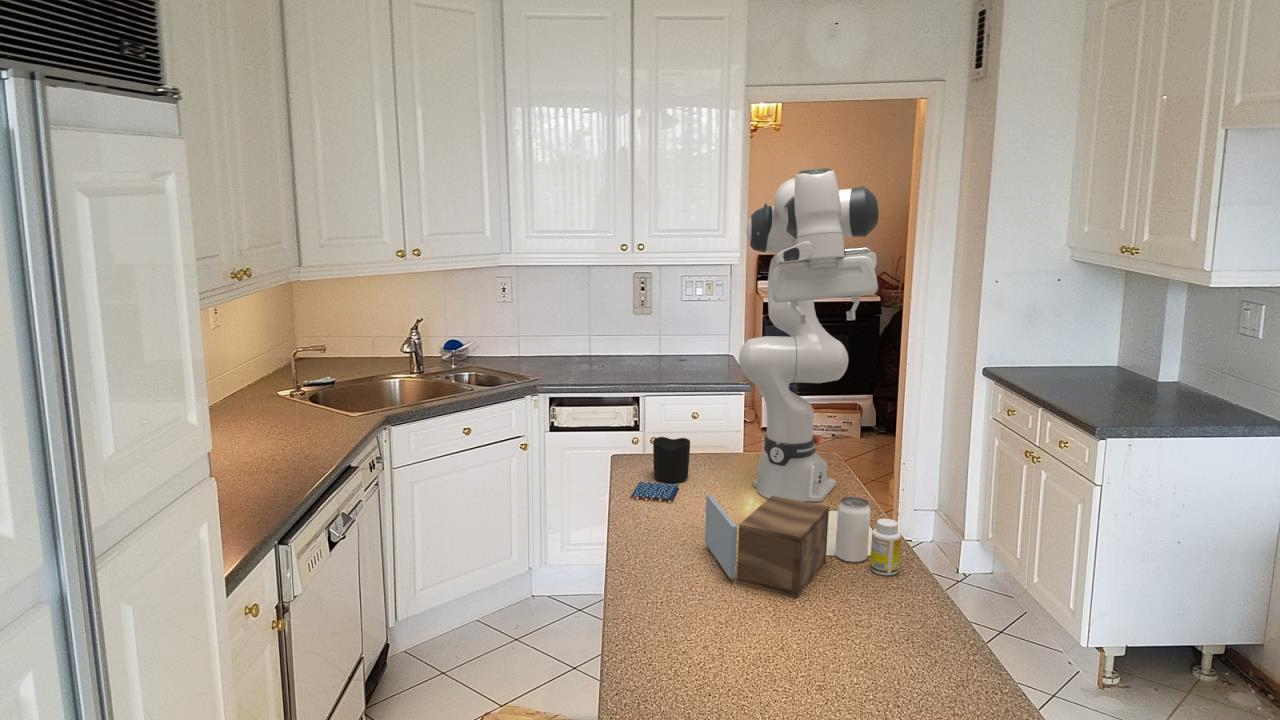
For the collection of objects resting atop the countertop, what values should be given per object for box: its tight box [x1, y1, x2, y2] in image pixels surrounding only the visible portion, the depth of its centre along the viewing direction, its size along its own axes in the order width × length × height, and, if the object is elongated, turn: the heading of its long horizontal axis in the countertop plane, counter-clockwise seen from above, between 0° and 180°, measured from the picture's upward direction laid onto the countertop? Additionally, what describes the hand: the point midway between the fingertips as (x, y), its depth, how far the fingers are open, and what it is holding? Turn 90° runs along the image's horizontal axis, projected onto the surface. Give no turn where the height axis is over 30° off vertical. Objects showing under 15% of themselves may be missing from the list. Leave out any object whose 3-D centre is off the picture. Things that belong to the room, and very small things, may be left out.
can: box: [834, 496, 871, 564], centre depth 186 cm, size 6×6×12 cm
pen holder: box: [652, 436, 691, 485], centre depth 232 cm, size 9×9×10 cm
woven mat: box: [629, 481, 680, 504], centre depth 221 cm, size 10×11×2 cm
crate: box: [736, 496, 830, 599], centre depth 177 cm, size 18×12×12 cm, turn 152°
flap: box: [704, 494, 738, 579], centre depth 181 cm, size 18×1×10 cm, turn 12°
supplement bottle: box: [869, 518, 902, 576], centre depth 179 cm, size 6×6×10 cm
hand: (826, 322), depth 176 cm, fingers open, 8 cm apart
